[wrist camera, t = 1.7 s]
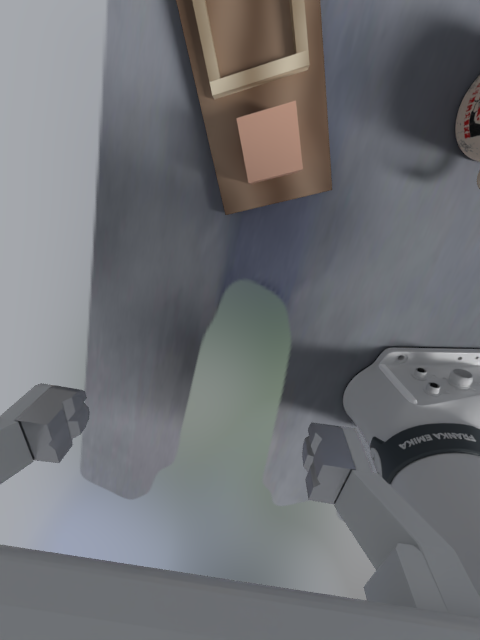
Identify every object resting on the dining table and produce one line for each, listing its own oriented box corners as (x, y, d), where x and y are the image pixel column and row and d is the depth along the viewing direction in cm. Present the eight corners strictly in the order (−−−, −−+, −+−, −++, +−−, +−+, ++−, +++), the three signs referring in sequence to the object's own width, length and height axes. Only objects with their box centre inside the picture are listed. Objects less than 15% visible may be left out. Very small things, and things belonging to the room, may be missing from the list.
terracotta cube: (290, 115, 26) (295, 100, 21) (296, 172, 28) (303, 169, 23) (240, 129, 27) (236, 118, 22) (250, 183, 29) (248, 183, 24)
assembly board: (310, -79, 21) (316, -113, 19) (329, 189, 30) (334, 189, 27) (173, -23, 23) (163, -47, 21) (227, 213, 32) (224, 216, 29)
